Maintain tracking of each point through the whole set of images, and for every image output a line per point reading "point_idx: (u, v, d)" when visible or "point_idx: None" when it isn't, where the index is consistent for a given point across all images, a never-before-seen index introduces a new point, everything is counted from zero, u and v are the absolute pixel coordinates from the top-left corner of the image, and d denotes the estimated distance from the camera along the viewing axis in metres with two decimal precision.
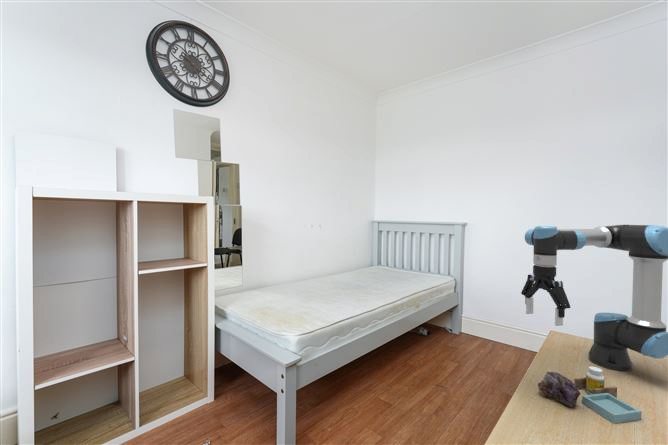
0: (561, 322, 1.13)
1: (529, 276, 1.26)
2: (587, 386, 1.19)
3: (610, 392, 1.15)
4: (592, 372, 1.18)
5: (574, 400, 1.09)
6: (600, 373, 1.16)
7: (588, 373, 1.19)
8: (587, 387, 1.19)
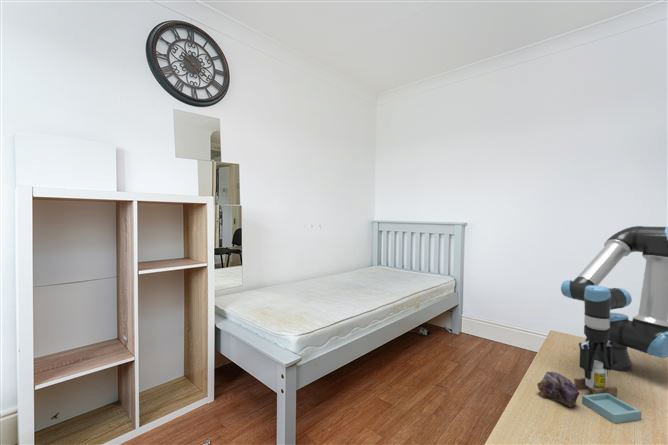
0: (590, 384, 1.17)
1: None
2: None
3: (610, 392, 1.15)
4: (593, 365, 1.18)
5: (573, 400, 1.09)
6: (600, 366, 1.16)
7: None
8: None
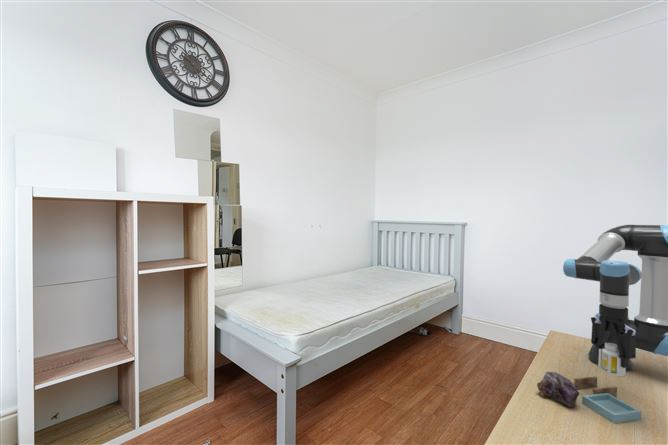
0: (624, 372, 1.04)
1: (593, 319, 1.12)
2: (616, 368, 1.05)
3: (610, 392, 1.15)
4: None
5: (573, 400, 1.09)
6: None
7: (615, 353, 1.05)
8: (616, 369, 1.05)
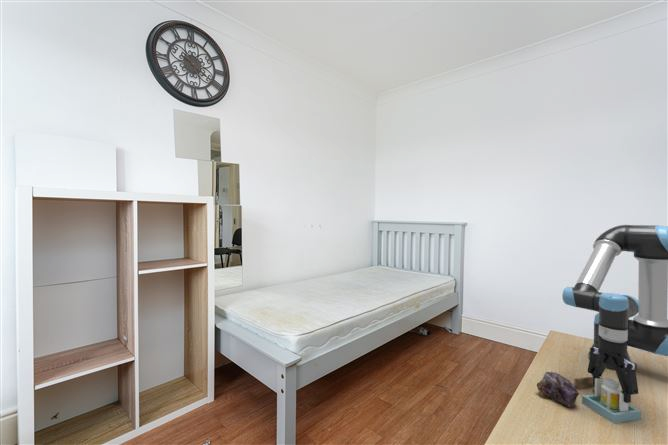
0: (626, 407, 1.03)
1: (592, 349, 1.13)
2: (616, 405, 1.05)
3: None
4: (618, 386, 1.06)
5: (573, 400, 1.09)
6: None
7: (614, 390, 1.06)
8: (616, 406, 1.05)
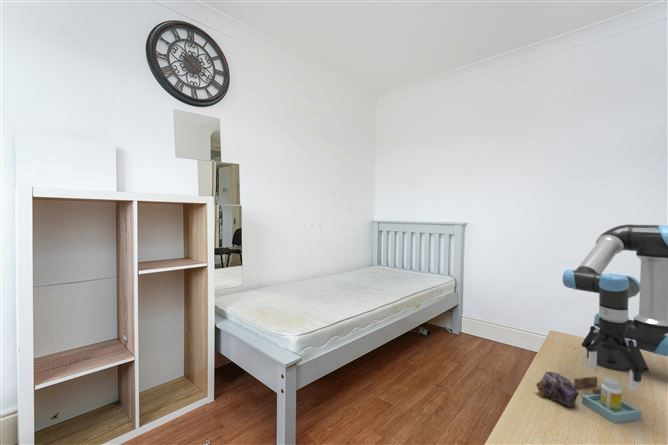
0: (636, 386, 1.01)
1: (592, 328, 1.13)
2: (616, 405, 1.05)
3: None
4: (618, 386, 1.06)
5: (572, 400, 1.09)
6: None
7: (614, 390, 1.06)
8: (616, 406, 1.05)
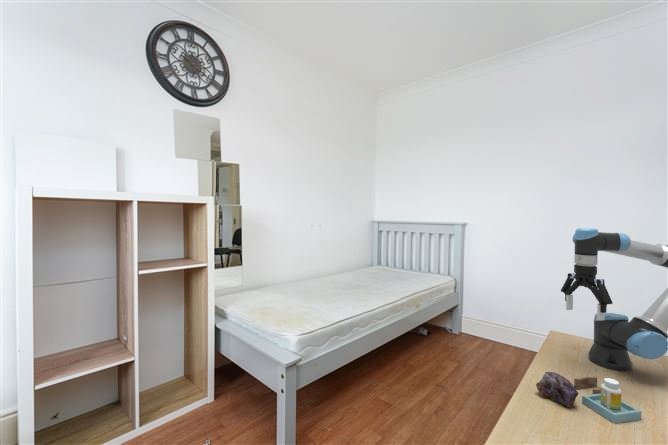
0: (603, 317, 1.23)
1: (569, 275, 1.35)
2: (616, 405, 1.05)
3: None
4: (618, 386, 1.06)
5: (572, 400, 1.09)
6: None
7: (614, 390, 1.06)
8: (616, 406, 1.05)
